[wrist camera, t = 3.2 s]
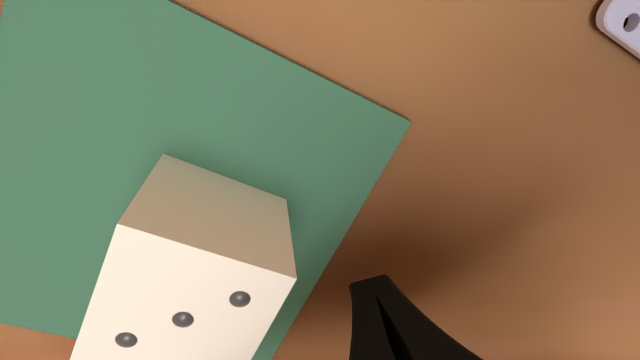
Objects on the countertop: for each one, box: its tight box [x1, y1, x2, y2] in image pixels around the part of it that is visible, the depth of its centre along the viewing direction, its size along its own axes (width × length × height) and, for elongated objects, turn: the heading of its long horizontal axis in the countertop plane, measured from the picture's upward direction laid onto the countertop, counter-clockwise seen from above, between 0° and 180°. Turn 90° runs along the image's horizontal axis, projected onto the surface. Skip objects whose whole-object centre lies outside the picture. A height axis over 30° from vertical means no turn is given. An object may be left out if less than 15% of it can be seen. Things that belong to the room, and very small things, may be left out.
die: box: [70, 153, 297, 360], centre depth 11 cm, size 4×4×4 cm
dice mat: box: [0, 0, 412, 360], centre depth 12 cm, size 11×12×1 cm
